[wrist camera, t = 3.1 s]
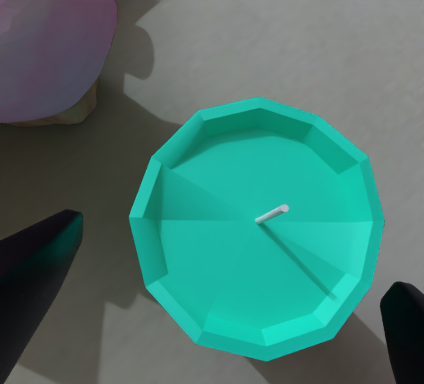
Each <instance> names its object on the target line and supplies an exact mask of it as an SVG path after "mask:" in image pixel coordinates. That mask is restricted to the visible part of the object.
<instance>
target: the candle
mask: <svg viewBox="0 0 424 384" xmlns="http://www.w3.org/2000/svg"><path fill="white" fill-rule="evenodd" d="M129 221H130V225H131V229H132V234H133V238H134V242H135V246H136V250H137V254H138V259H139V263H140V267H141V271H142V275H143V279H144V284H145V287H146V289H147V290H148V291H149V292H150V293H151V294H152V295H153V296H154V298H155V299H156V300H157V301H158V302H159V303H160V304H161V305H162V307H163V308H164V309H165V310H166V311H167V312H168V313H169V314H170V316H171V317H172V318H173V319H174V320H175V321H176V322H177V323H178V325H179V326H180V327H181V328H182V329H183V330H184V331H185V332H186V334H187V335H188V336H189V337H190V338H191V339H192V340H193V341H194V342H195V344H198V345H202V346H206V347H210V348H214V349H218V350H222V351H226V352H230V353H234V354H238V355H242V356H246V357H250V358H254V359H259V360H263V361H270V360H273V359H276V358H279V357H281V356H284V355H287V354H290V353H293V352H296V351H299V350H302V349H305V348H308V347H311V346H314V345H316V344H319V343H322V342H325V341H328V340H331V339H333V338H334V337H335V335H336V334H337V332H338V331H339V330H340V328H341V327H342V326H343V324H344V323H345V322H346V320H347V319H348V317H349V316H350V315H351V313H352V312H353V311H354V309H355V308H356V306H357V305H358V304H359V302H360V301H361V300H362V298H363V297H364V295H365V294H366V293H367V291H368V290H369V289H370V287H371V286H372V281H373V276H374V271H375V267H376V262H377V257H378V252H379V247H380V242H381V237H382V232H383V228H384V223H385V220H384V216H383V212H382V208H381V204H380V200H379V196H378V192H377V188H376V184H375V180H374V176H373V172H372V168H371V164H370V160H369V157H368V156H367V155H366V154H364V153H363V152H362V151H361V150H360V149H358V148H357V147H356V146H355V145H354V144H352V143H351V142H350V141H349V140H347V139H346V138H345V137H344V136H343V135H341V134H340V133H339V132H338V131H337V130H335V129H334V128H333V127H332V126H331V125H329V124H328V123H327V122H326V121H325V120H323V119H322V118H321V117H320V116H318V115H315V114H312V113H309V112H306V111H303V110H300V109H296V108H293V107H290V106H287V105H284V104H281V103H278V102H275V101H272V100H269V99H265V98H262V97H256V98H252V99H247V100H243V101H238V102H234V103H229V104H225V105H220V106H216V107H212V108H207V109H203V110H198V111H197V112H196V113H195V114H194V115H193V116H192V117H191V118H190V119H189V120H188V121H187V122H186V123H185V124H184V125H183V126H182V127H181V128H180V129H179V130H178V131H177V132H176V133H175V134H174V135H173V136H172V137H171V138H170V139H169V140H168V141H167V142H166V143H165V144H164V145H163V146H162V147H161V148H160V149H159V150H158V151H157V152H156V153H155V154H154V155H153V156H152V157H151V159H150V162H149V164H148V167H147V170H146V172H145V175H144V178H143V180H142V183H141V186H140V188H139V191H138V194H137V196H136V199H135V202H134V204H133V207H132V210H131V212H130V215H129Z"/></svg>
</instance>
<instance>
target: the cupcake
mask: <svg viewBox="0 0 424 384" xmlns="http://www.w3.org/2000/svg"><path fill="white" fill-rule="evenodd" d="M116 25H117V7H116V3H115V0H0V123H7V124H10V125H13V126H17V127H25V126H39V125H48V124H54V123H59V124H75V123H81V122H82V121H83V120H84V119H85V118H86V116H88V115H89V114H90V113H91V112H92V111H93V109H94V108H95V107H96V105H97V100H96V89H97V87H98V85H99V81H100V73H101V71H102V69H103V65H104V62H105V59H106V57H107V55H108V52H109V50H110V47H111V44H112V40H113V35H114V32H115V29H116Z"/></svg>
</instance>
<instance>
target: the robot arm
mask: <svg viewBox="0 0 424 384" xmlns="http://www.w3.org/2000/svg"><path fill="white" fill-rule="evenodd" d="M82 237H83V216H82V213H81V212H78V211H74V210H69V209H66V210H63V211H61V212H59V213H57V214H55V215H53V216H51V217H49V218H47V219H44V220H42V221H40V222H38V223H36V224H34V225H32V226H30V227H28V228H26V229H24V230H22V231H19V232H17V233H15V234H13V235H11V236H9V237H7V238H5V239H3V240H1V241H0V384H4V383H5V381H6V379H7V378H8V376H9V374H10V373H11V371H12V369H13V368H14V366H15V364H16V363H17V361H18V359H19V358H20V356H21V354H22V353H23V351H24V349H25V348H26V346H27V344H28V343H29V341H30V339H31V337H32V336H33V334H34V332H35V331H36V329H37V327H38V326H39V324H40V322H41V321H42V319H43V317H44V316H45V314H46V312H47V311H48V309H49V307H50V306H51V304H52V302H53V301H54V299H55V297H56V295H57V294H58V292H59V290H60V288H61V286H62V284H63V281H64V279H65V277H66V275H67V273H68V270H69V268H70V266H71V264H72V262H73V259H74V257H75V255H76V253H77V250H78V248H79V246H80V244H81V241H82ZM380 310H381V315H382V321H383V326H384V332H385V338H386V343H387V349H388V354H389V359H390V363H391V366H392V370H393V374H394V377H395V381H396V384H424V294H423V293H422V292H420V291H419V290H418V289H417V288H416V287H415V286H413V285H412V284H409V283H404V282H399V281H398V282H395V283H394V284H393V285H392V286H391V287H390V289H389V290H388V291H387V292H386V294H385V295H384V296H383V298H382V299H381V302H380Z"/></svg>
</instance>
